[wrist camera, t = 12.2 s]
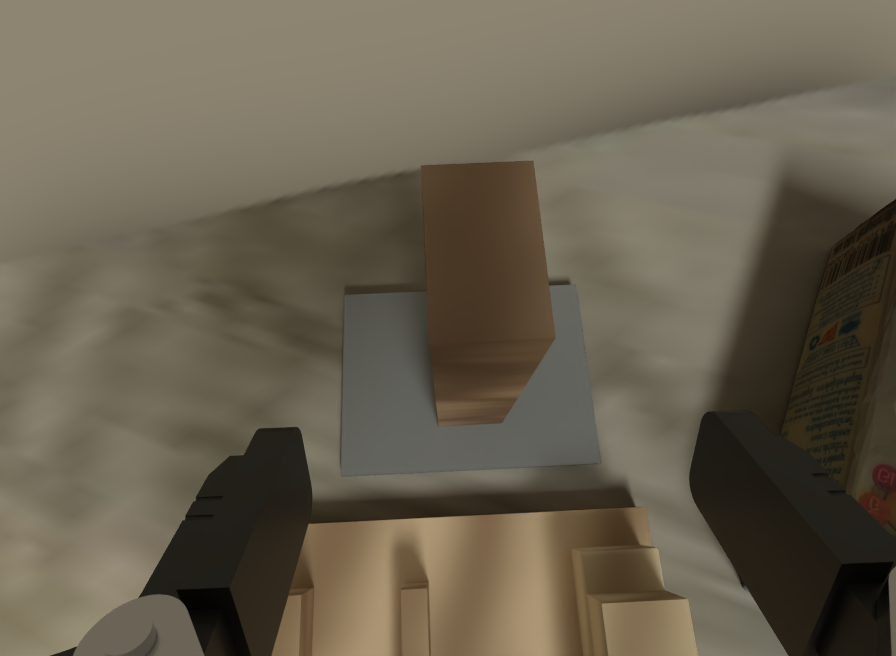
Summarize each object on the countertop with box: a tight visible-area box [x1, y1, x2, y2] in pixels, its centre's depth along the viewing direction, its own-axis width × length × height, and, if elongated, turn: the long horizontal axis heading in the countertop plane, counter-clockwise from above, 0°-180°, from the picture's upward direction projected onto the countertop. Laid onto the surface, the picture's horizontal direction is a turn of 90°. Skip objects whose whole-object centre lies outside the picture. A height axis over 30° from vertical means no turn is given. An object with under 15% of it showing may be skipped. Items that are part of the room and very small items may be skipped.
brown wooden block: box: [421, 161, 556, 427], centre depth 19 cm, size 3×5×13 cm, turn 3°
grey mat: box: [341, 285, 601, 476], centre depth 26 cm, size 12×9×1 cm
